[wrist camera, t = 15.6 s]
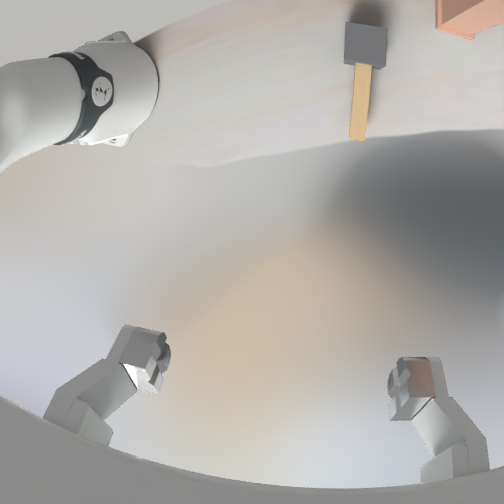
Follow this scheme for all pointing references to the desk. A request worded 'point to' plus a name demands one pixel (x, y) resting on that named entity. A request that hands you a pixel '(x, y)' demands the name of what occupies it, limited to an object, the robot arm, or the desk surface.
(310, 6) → the desk surface
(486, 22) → the stand
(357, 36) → the mallet
